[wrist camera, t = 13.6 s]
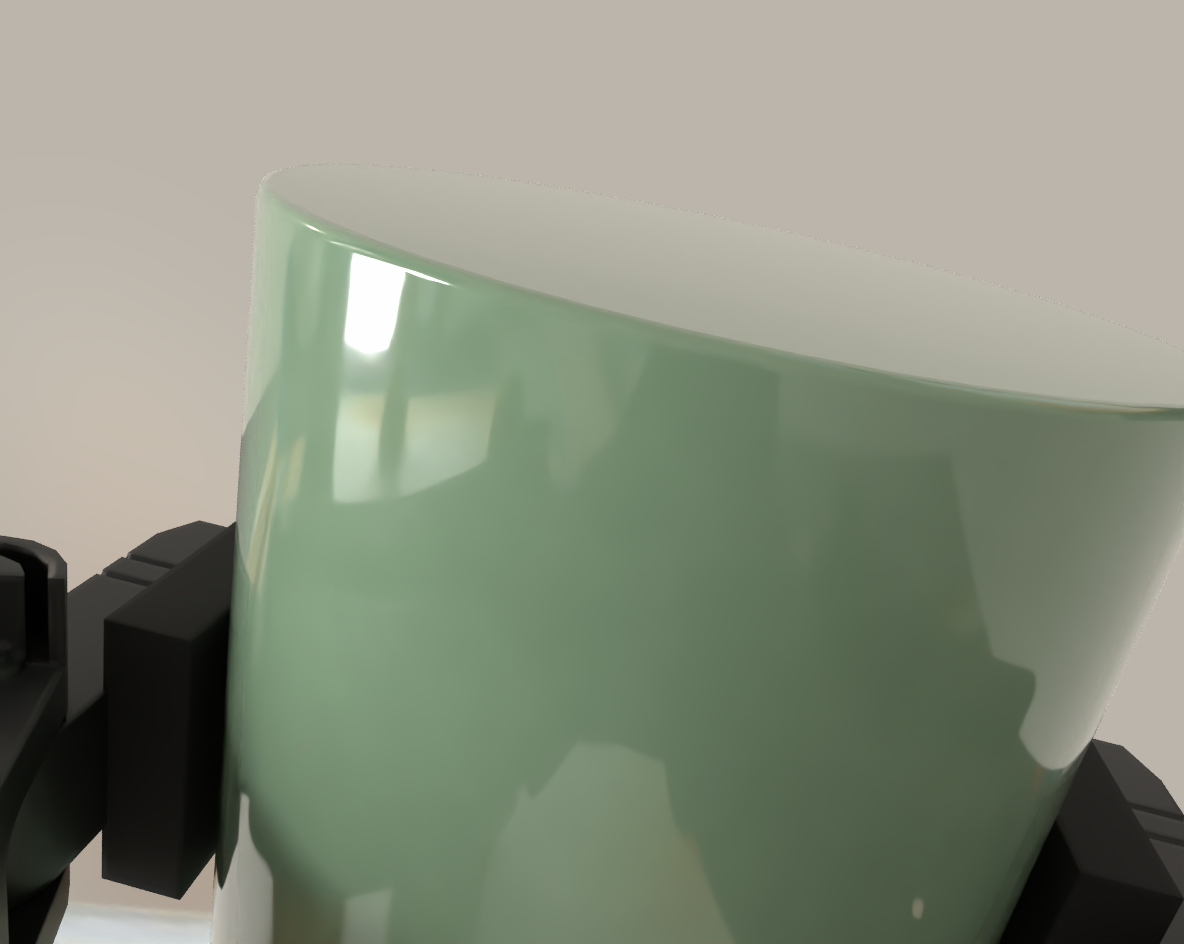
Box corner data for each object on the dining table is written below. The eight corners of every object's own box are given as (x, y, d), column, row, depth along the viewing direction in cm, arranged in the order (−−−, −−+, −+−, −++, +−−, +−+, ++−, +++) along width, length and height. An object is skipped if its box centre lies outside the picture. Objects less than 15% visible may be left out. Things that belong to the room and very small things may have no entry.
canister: (74, 1151, 11) (67, 126, 7) (518, 865, 16) (659, 195, 12) (492, 1939, 7) (1076, 514, 3) (904, 1206, 12) (1304, 362, 8)
